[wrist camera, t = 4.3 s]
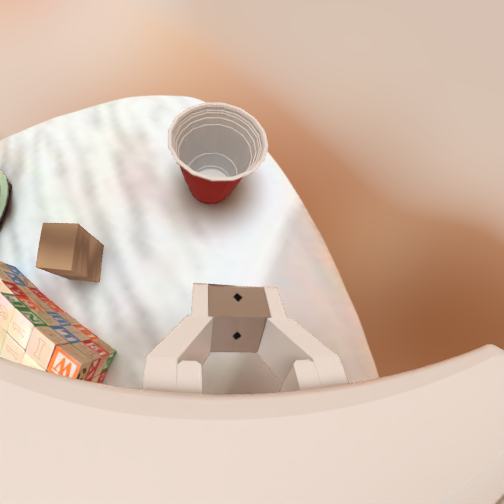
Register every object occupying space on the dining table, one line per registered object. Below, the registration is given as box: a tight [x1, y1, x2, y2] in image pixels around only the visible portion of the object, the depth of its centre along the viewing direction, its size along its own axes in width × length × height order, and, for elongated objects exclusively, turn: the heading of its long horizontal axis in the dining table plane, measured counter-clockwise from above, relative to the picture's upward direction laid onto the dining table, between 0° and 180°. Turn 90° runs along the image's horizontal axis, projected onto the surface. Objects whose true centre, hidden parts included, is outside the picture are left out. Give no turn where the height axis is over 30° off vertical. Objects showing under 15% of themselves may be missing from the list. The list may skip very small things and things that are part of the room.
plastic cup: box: [168, 103, 268, 204], centre depth 32 cm, size 11×11×12 cm
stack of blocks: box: [0, 262, 116, 383], centre depth 23 cm, size 21×6×12 cm, turn 63°
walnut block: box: [36, 223, 104, 282], centre depth 28 cm, size 5×5×9 cm
